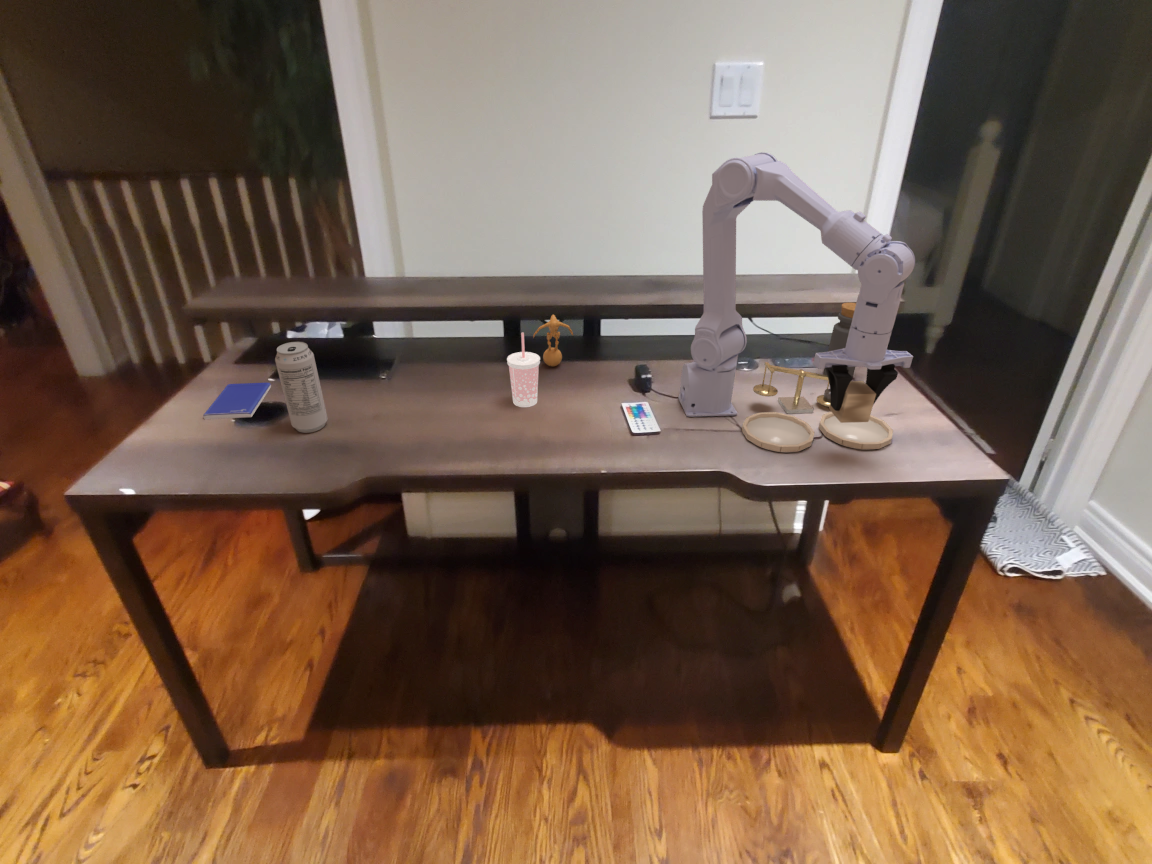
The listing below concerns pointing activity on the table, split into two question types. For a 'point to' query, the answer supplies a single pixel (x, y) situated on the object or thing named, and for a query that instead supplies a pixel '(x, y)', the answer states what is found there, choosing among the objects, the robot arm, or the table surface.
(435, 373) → the table surface
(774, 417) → the left dish
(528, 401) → the beverage cup
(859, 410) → the maple block
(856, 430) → the right dish
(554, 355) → the figurine
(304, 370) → the energy drink can
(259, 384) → the hard drive
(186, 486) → the table surface
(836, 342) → the bottle
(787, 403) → the balance scale
